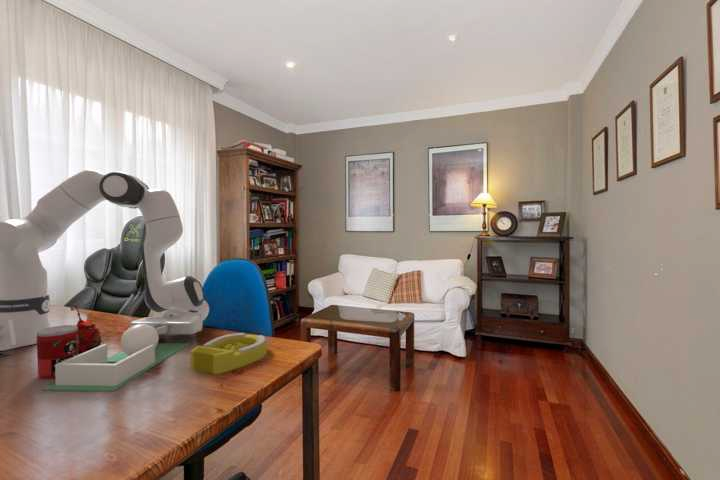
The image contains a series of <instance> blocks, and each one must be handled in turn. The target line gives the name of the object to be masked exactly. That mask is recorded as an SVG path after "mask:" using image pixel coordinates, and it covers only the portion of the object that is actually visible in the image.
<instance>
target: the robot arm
mask: <svg viewBox="0 0 720 480" xmlns="http://www.w3.org/2000/svg"><path fill="white" fill-rule="evenodd" d="M103 201H108V202H109V203H111V204H113V205H117V206H119V207H122V208H127V209H138V210H139V211H140V212H141V214H142V218H143V220H144V224H145V231H146V234H145V238H144V241H143V242H142V243H141V248H140V249H141V262H142V269H143V277H144V279H143V280H144V302H145V306H147V308H149V309H150V310H152V311H154V312H156V313H163V312H164V313H163V314H162V316H147V317H141V318H138V319H134V320H132V321H131V322H129V328H130V327H132V326H134V325H137V324H147V325H150V326H152V327H154V328H155V329H156V331H157V333H158V335H170V336H171V335H172V336H178V335H194V334H196V333H199V332H201V331H202V330H203V323H204V322H203V321H205V320H206V318H207V317H208V315H209V313H210V306H209V304H208V302H207V301H206V300H204V299H205V293H204V289H203V285H202V284H201V283H200V281H198V280H197V278H195V277H193V276H191V275H187V276H182V277H180V278H176V279H174V280H169V281H165V282H164V281H163V278H162V268H161V267H162V266H161V258H162V256H163V254H164V253H165V252H166V251H167V250H169V249H170V248H171V247H172V246H173V245H175V244H176V243H177V242H178V241H179V240H180V239H181V237H182V235H183V231H184V227H183V223H182V220H181V216H180V213H179V212H180V211H179V209H178V207H177V204H176V203H175V200H174V199H173V197H172V194H171V193H170V192H169V191H167V190H164V189H161V188H160V189H159V188H155V189H150V188H149V186H148V185H147V183H145V182H143V181H142V180H141V179H140V178H138V177H136V176H134V175H130V174H129V173H127V172H124V171H111V172H108V173H106V174H104V173H103V172H101V171H99V170H96V169H95V168H94V169H93V168H87V169H86V168H85V169H84V170H81V171H80V172H77V173H76V174H74V175H72V176H70V177H69V178H67V179H65V180H63V181H62V182H61V183H60V184H58V185H57V186H55V187H54V188H52V189H51V190H50V191H48V192H47V193H46V194H44V195H43V196H42V197H41V198H39V199H38V200H37V202H36V206H35V207H34V208H33V209H32V210H31V212H30V213H29V214H28V215H26V216H25V217H23V218H21V219H13V218H7V219H6V218H5V219H1V220H0V351H8V350H12V349H16V348H21V347H27V346H30V345H31V346H32V345H35V344H36V345H37V332H38V331H40V330H42V329H46V328H50V327H53V326H52V322H51V318H50V317H51V316H50V313H49V312H50V310H51V309H50V307H51V304H50V301H51V300H50V294H49V293H48V271H47V270H46V268H45V267H44V266H43V264H42V262H41V261H42V260H41V258H40V255H39V253H41V252H45V251H46V250H49V249H50V248H51V247H53V246H55V244H56V243H57V241H58V240H59V238H60V237H62V236H63V234H64V233H65V232H66V231H67V230H68V229H69V227H70V226H72V225H73V224H74V223H75V222H77V221H78V220H80V218H81V217H83V216H84V215H86V214H87V213H88V212H89V211H91V210H92V209H93V208H95V207H96V206H97V205H98V204H100V203H102V202H103Z"/></svg>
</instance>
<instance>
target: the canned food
mask: <svg viewBox="0 0 720 480" xmlns="http://www.w3.org/2000/svg"><path fill="white" fill-rule="evenodd" d="M36 354H37V355H36V357H37V375H38V377H39V378H40V379H42V380H51V379H56V376H55V364H58V363H60V362H63V361H65V360H67V359H70V358H72V357H74V356H77V355H79V354H78V327H77V326H76V325H71V324H68V325H67V324H66V325H64V324H63V325H57V326H52V327H50V328H46V329H42V330H40V331H38V332H37V343H36Z"/></svg>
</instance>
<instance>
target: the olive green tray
mask: <svg viewBox="0 0 720 480" xmlns="http://www.w3.org/2000/svg"><path fill="white" fill-rule="evenodd" d="M267 354H268V340H267V338H265V336H264V335H262V334H261V335H258V334H246V333H245V332H240V333H239V332H237V333H229V334H224V335H222V336H218V337H215V338H213V339H211V340H209V341H207V342H206V343H204V344H203V345H196V346H195V347H194V348H192V349H191V350H190V370H193V371H198V372H204V373H209V374H214V375H219V374H223V373H226V372H229V371H232V370H237V369H239V368H243V367H245V366H247V365H250V364H253V363H254V362H258V361H259V360H261V359H263V358H264V357H266V355H267Z"/></svg>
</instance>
